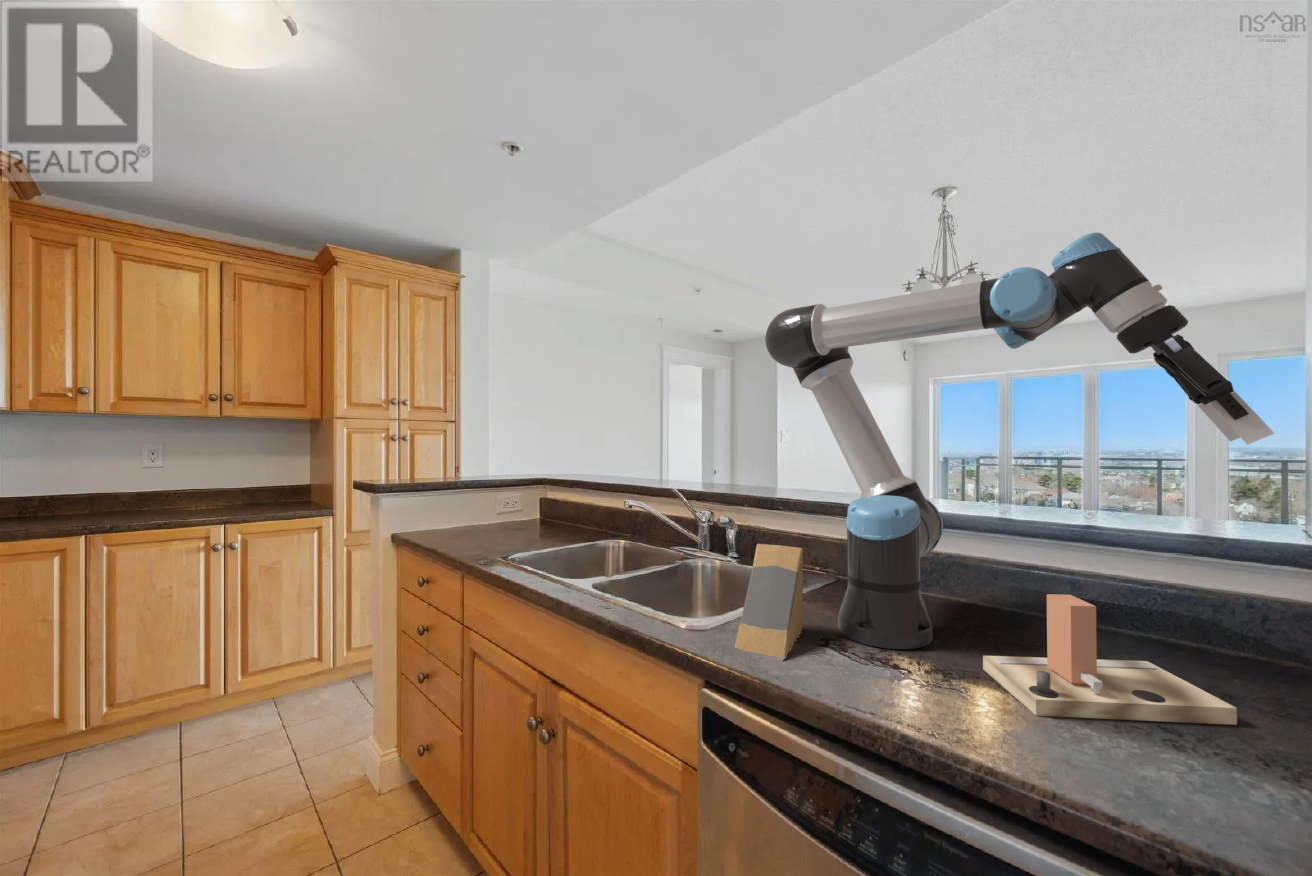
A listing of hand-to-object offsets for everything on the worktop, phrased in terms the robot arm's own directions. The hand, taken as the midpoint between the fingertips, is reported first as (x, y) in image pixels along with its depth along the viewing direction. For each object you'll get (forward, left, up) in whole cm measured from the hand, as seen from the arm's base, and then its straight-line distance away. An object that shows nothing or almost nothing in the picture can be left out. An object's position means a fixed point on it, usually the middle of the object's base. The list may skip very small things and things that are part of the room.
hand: (1250, 438), depth 73 cm
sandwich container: (-65, +9, -34) cm, 74 cm away
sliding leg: (-27, -8, -31) cm, 42 cm away
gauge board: (-24, -6, -34) cm, 42 cm away
